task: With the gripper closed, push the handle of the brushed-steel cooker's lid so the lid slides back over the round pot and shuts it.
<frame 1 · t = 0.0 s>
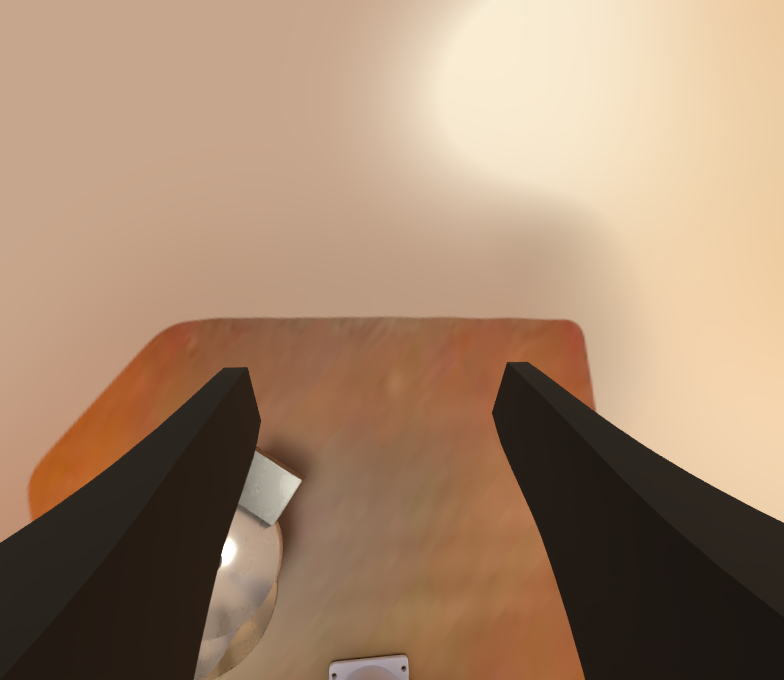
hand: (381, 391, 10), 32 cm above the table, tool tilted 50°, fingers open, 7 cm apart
cooker lid: (225, 539, 30), point 7 cm above the table, slide at 6.0 cm
cooker pot: (203, 591, 35), on the table
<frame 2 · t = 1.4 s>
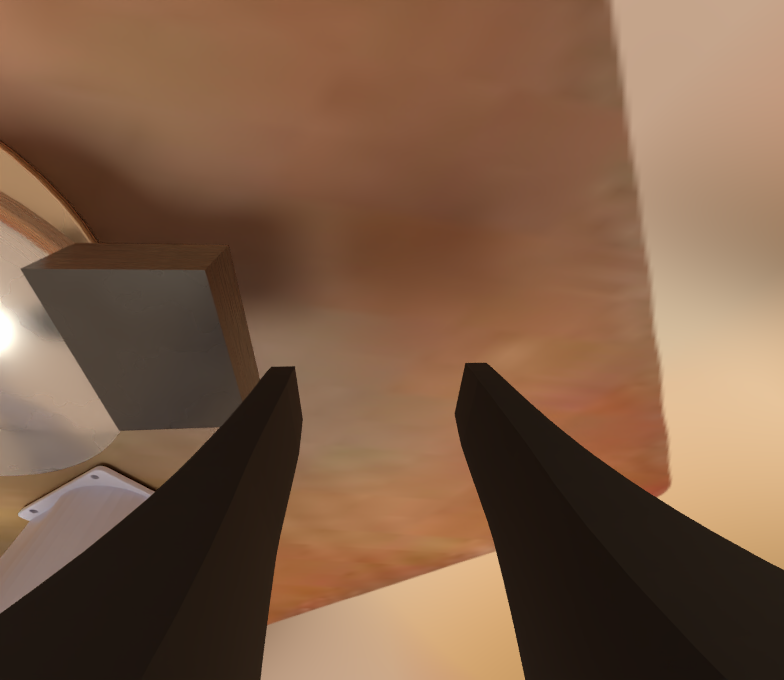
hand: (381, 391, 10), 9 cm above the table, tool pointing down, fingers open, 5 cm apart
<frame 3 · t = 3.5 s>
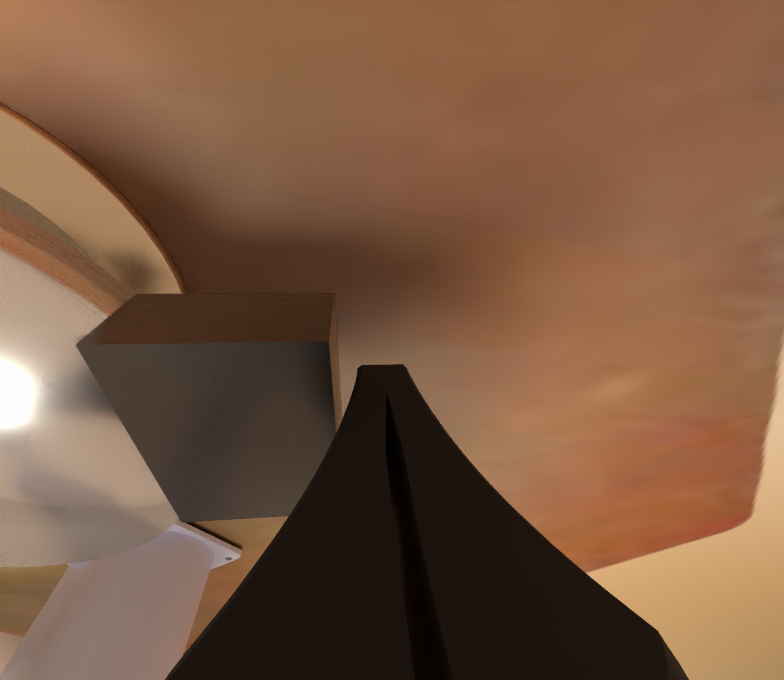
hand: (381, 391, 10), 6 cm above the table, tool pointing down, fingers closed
cooker lid: (13, 431, 8), point 7 cm above the table, slide at 4.5 cm, touching gripper
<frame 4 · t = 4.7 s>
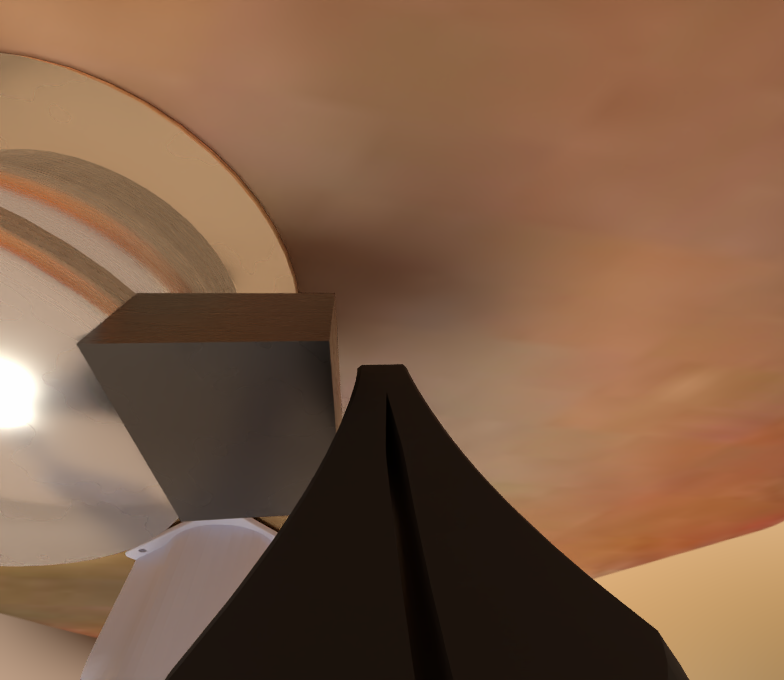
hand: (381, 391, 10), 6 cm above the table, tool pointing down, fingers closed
cooker lid: (13, 430, 8), point 7 cm above the table, slide at 0.1 cm, touching gripper
cooker pot: (108, 295, 14), on the table
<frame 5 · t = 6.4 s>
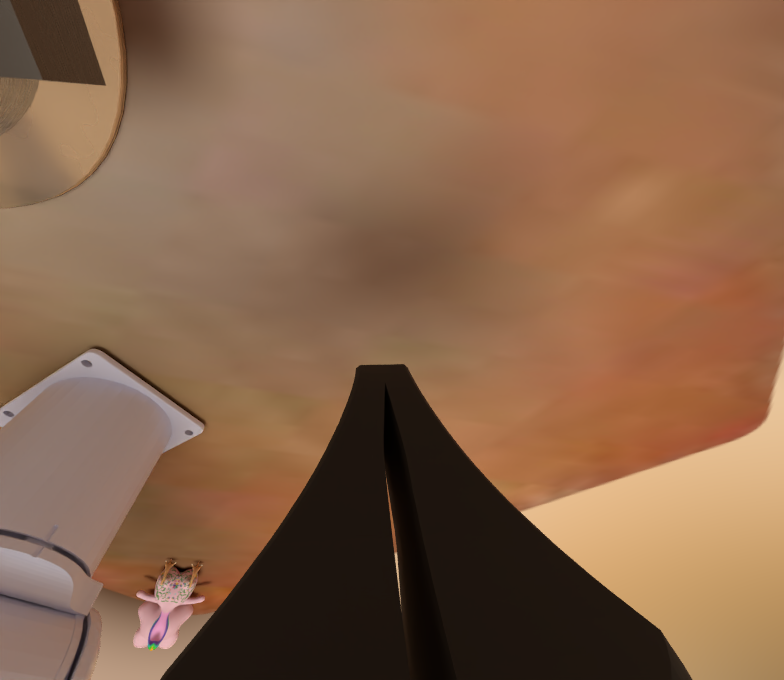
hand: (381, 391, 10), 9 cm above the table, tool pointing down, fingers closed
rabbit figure: (175, 585, 37), on the table
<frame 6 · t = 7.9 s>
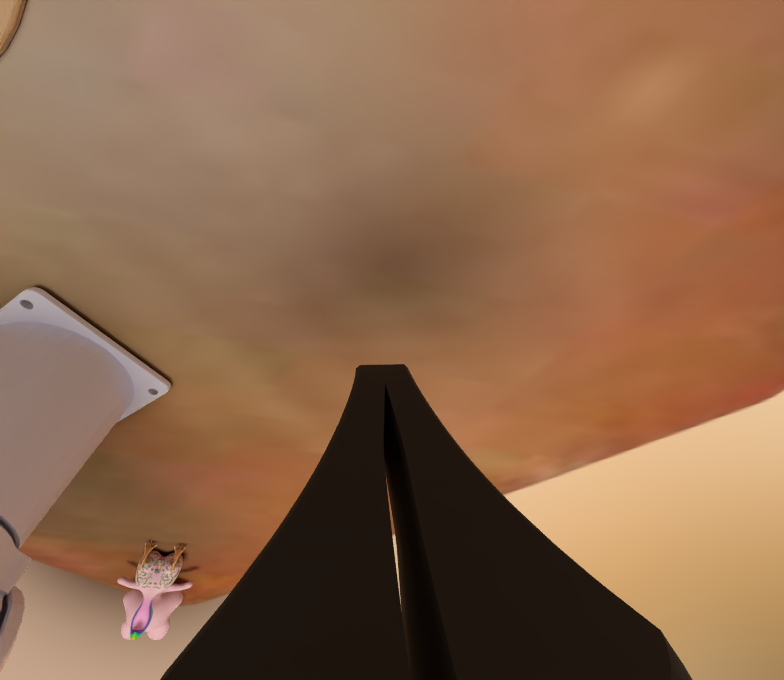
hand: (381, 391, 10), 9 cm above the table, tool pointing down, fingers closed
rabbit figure: (163, 572, 34), on the table
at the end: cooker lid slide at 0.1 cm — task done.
